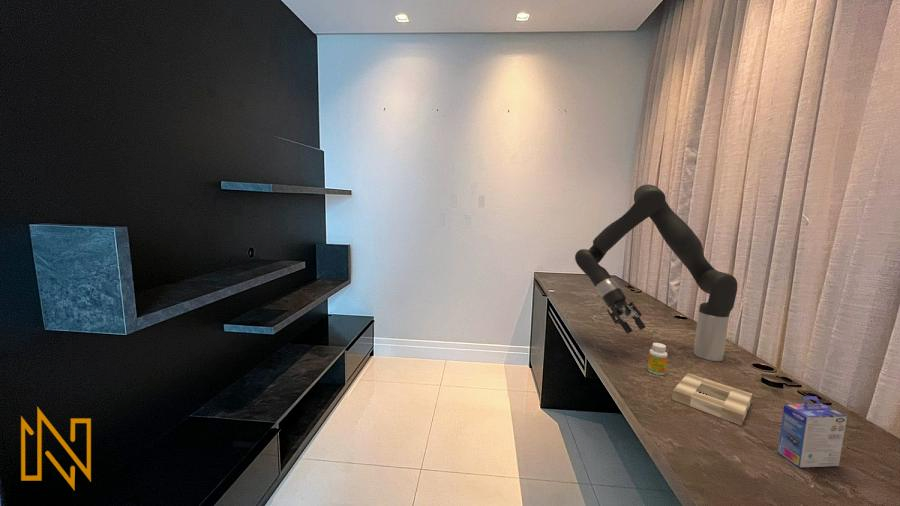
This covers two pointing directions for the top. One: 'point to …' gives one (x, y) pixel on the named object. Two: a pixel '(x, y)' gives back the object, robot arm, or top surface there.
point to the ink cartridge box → (811, 434)
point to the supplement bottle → (657, 359)
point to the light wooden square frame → (728, 409)
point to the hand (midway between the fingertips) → (636, 330)
